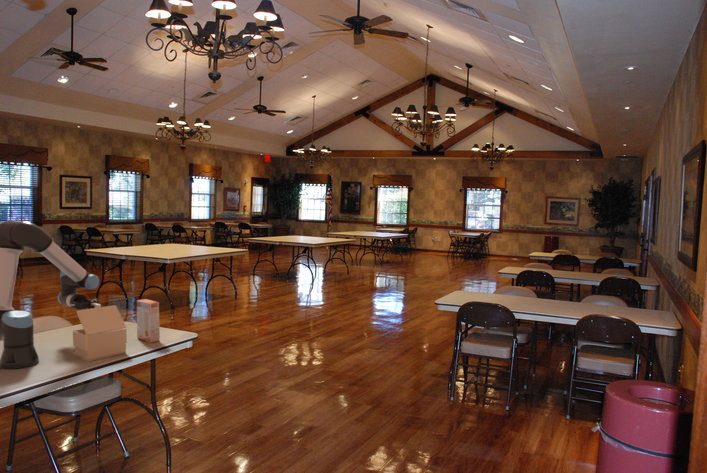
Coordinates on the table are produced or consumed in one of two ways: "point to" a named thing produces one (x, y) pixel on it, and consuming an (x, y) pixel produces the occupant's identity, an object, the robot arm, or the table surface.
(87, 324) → the flap
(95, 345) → the carton
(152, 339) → the cracker box
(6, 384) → the table surface
